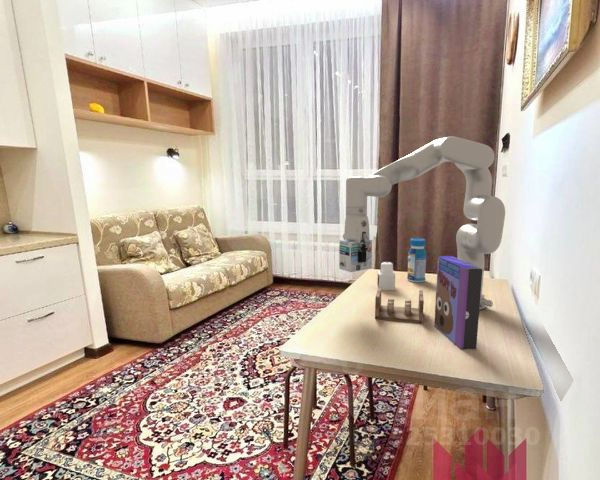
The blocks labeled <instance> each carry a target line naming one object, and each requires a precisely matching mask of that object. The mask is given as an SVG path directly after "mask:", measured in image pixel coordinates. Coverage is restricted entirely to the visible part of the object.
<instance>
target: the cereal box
mask: <svg viewBox="0 0 600 480" xmlns="http://www.w3.org/2000/svg"><path fill="white" fill-rule="evenodd" d="M436 270H437V273H436V287H435V289H436V290H435V302H434V303H435V305H434V321H433V322H434V325H433V326H434V328H435V329H437V330H438V331H439V332H440V333H441V334H442V335H443V336H445V337H446V338H447V339H448V340H449V341H450V342H451V343H453V344H454V345H455V346H456V347H457V348H458V349H459V350H473V349H474V350H477V343H478V331H479V330H478V329H479V318H480V310H479V308H480V295H481V282H482V269H481V268H478V267H476V266H474V265H471V264H469V263H467V262H464V261H462V260H460V259H458V258H457V257H455V256H452V255H441V256H437V269H436Z"/></svg>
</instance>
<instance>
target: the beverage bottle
mask: <svg viewBox="0 0 600 480" xmlns="http://www.w3.org/2000/svg"><path fill="white" fill-rule="evenodd" d="M409 246H410V248H409V250H408V252H407V253H408V254H407V255H408V256H407V277H406V279H407V280H408V281H409V282H412V283H423V282H425V281H426V267H427V266H426V265H427V257H426V255H427V251H426V249H425V246H426V239H425V238H421V237H419V238H418V237H415V238H414V237H412V238H410V245H409Z"/></svg>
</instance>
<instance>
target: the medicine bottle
mask: <svg viewBox="0 0 600 480" xmlns="http://www.w3.org/2000/svg"><path fill="white" fill-rule="evenodd" d="M394 266H395V265H394V262H393V261H389V260H383V261H380V262H379V270H378V271H377V288H378V287H381V288H382V290H381V291H396V273H395V270H394V268H395V267H394Z"/></svg>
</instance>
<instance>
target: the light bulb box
mask: <svg viewBox="0 0 600 480" xmlns="http://www.w3.org/2000/svg"><path fill="white" fill-rule="evenodd" d="M361 242H363V241H360V243H361ZM370 242H371V243H370V245H369V247H368V249H367V251H366V262H361V263H359V262H358V251H359V248H358V244H357V242H354V241H351V240H348V239H346V240H344V239H341V240H339V243H338V244H339V249H338V250H339V253H338V254H339V255H338V257H339V260H338V261H339V263H338V265H339V266H338V267H339V270H341V271H346V272H348V273H355V272H359V271H361V272H362V271H365V270H366V271H367V270H371V269H373V267H372V265H373V240H372V239H370ZM362 246H363V245H361V247H362Z"/></svg>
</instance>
